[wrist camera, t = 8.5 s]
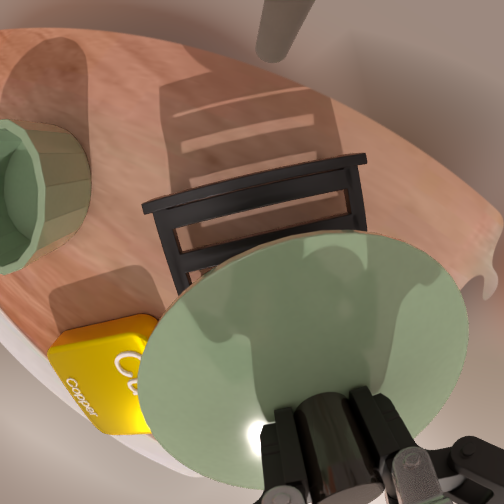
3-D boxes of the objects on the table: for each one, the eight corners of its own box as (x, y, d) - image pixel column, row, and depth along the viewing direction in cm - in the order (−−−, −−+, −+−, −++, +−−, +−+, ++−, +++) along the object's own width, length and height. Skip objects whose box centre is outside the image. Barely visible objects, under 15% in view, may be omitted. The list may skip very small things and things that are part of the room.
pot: (-6, 154, 24) (-54, 158, 16) (77, 105, 24) (30, 91, 16) (20, 259, 28) (-23, 285, 20) (106, 230, 28) (65, 254, 20)
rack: (166, 192, 27) (140, 204, 19) (331, 154, 27) (365, 152, 19) (216, 352, 32) (212, 401, 25) (354, 318, 32) (383, 359, 24)
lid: (86, 279, 10) (-4, 367, 4) (461, 192, 10) (572, 223, 4) (207, 488, 14) (205, 561, 9) (433, 429, 14) (470, 489, 8)
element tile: (56, 331, 31) (38, 351, 26) (155, 308, 30) (144, 331, 26) (109, 415, 35) (100, 438, 30) (203, 406, 35) (200, 432, 30)
